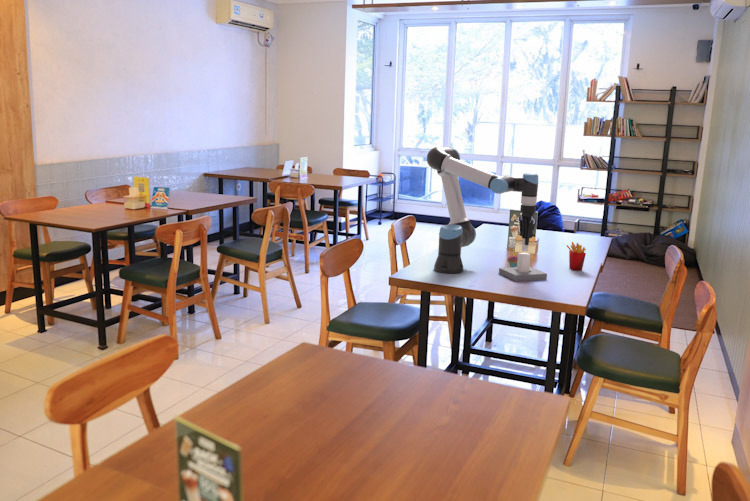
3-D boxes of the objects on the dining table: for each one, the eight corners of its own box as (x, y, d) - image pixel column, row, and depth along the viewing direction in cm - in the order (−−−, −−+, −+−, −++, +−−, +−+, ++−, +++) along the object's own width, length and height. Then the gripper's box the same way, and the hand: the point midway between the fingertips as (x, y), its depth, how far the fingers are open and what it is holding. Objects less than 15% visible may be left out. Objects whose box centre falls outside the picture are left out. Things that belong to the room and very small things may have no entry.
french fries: (578, 268, 349) (581, 241, 346) (585, 271, 342) (588, 244, 338) (563, 268, 348) (566, 241, 345) (570, 271, 340) (573, 244, 337)
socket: (515, 281, 316) (515, 275, 315) (498, 273, 330) (499, 267, 330) (546, 279, 322) (547, 273, 321) (528, 271, 336) (529, 266, 336)
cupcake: (513, 270, 338) (515, 248, 335) (503, 267, 345) (505, 245, 343) (526, 269, 342) (528, 247, 339) (515, 266, 349) (517, 244, 347)
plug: (520, 277, 323) (522, 254, 321) (516, 275, 327) (518, 252, 325) (528, 277, 325) (530, 254, 322) (523, 275, 329) (525, 252, 326)
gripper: (542, 206, 314) (538, 253, 318) (527, 202, 326) (524, 248, 330) (529, 206, 311) (525, 253, 316) (515, 203, 323) (511, 248, 328)
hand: (524, 250), depth 323 cm, fingers closed
